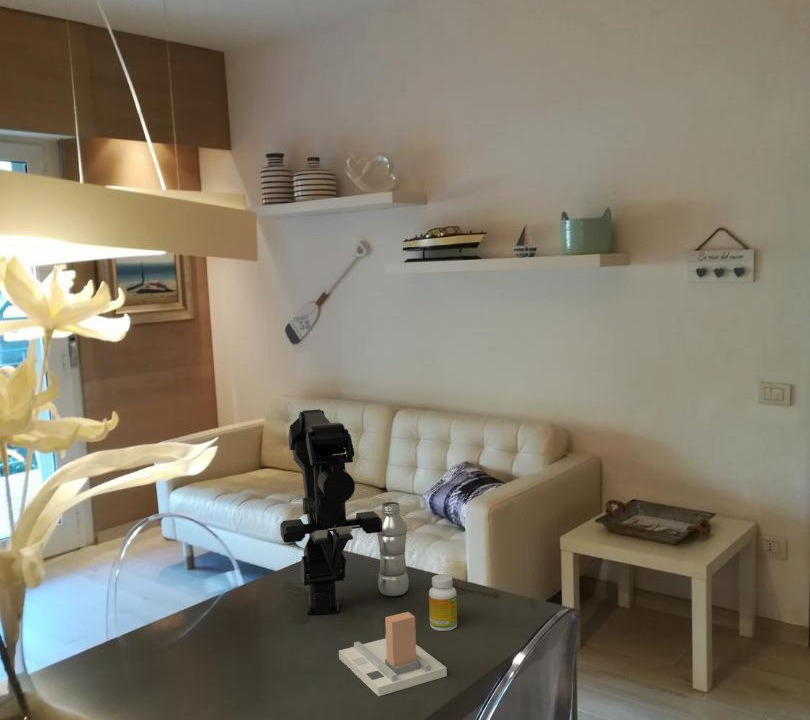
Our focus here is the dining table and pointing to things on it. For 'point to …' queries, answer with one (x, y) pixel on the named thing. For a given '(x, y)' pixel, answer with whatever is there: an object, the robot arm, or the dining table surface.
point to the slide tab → (401, 643)
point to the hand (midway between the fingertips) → (333, 570)
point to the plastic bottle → (392, 551)
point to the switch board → (379, 676)
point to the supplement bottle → (442, 603)
